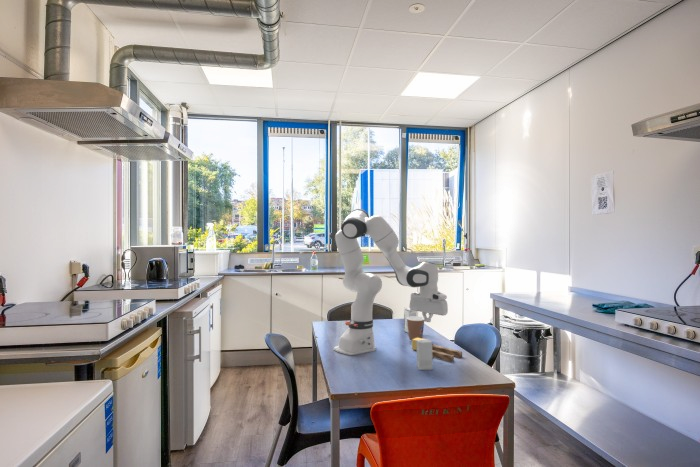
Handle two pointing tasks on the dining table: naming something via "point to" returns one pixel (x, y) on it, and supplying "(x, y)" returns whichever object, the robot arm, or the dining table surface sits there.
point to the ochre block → (415, 343)
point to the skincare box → (424, 354)
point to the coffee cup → (415, 327)
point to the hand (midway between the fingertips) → (427, 321)
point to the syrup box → (408, 314)
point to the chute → (445, 353)
